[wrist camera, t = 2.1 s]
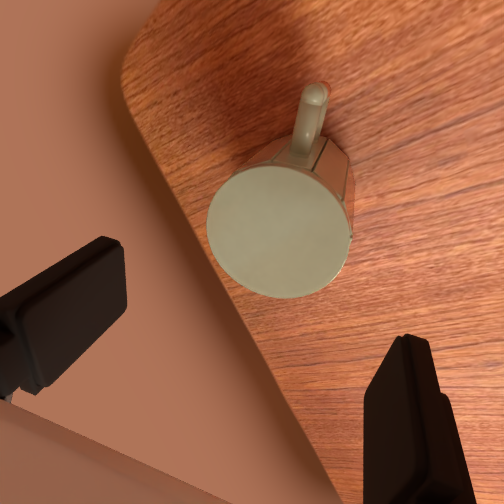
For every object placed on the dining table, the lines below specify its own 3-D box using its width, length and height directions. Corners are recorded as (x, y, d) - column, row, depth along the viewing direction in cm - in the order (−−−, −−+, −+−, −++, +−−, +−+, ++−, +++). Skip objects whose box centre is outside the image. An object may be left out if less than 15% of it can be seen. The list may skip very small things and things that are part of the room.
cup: (245, 218, 24) (201, 275, 17) (270, 68, 19) (219, 68, 12) (336, 243, 23) (325, 315, 16) (388, 91, 17) (405, 105, 11)
